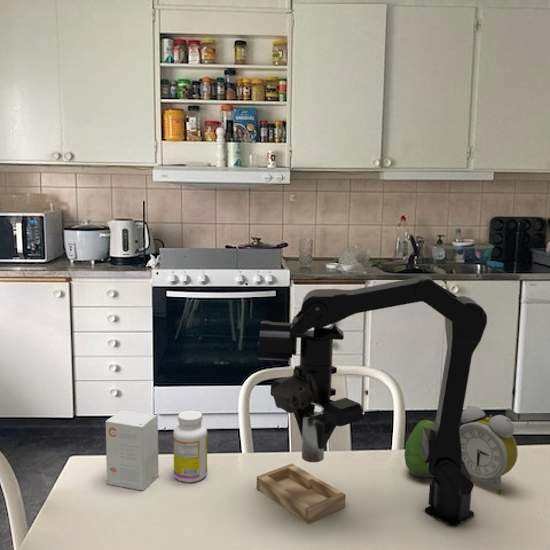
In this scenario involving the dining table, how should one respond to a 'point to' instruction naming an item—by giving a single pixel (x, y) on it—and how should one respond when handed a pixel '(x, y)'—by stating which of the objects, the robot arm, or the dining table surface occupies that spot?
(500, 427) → the alarm clock
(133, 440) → the small box
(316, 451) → the grey metal peg
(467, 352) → the robot arm
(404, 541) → the dining table surface
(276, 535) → the dining table surface
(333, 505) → the light brown wooden tray
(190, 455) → the supplement bottle
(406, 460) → the avocado
